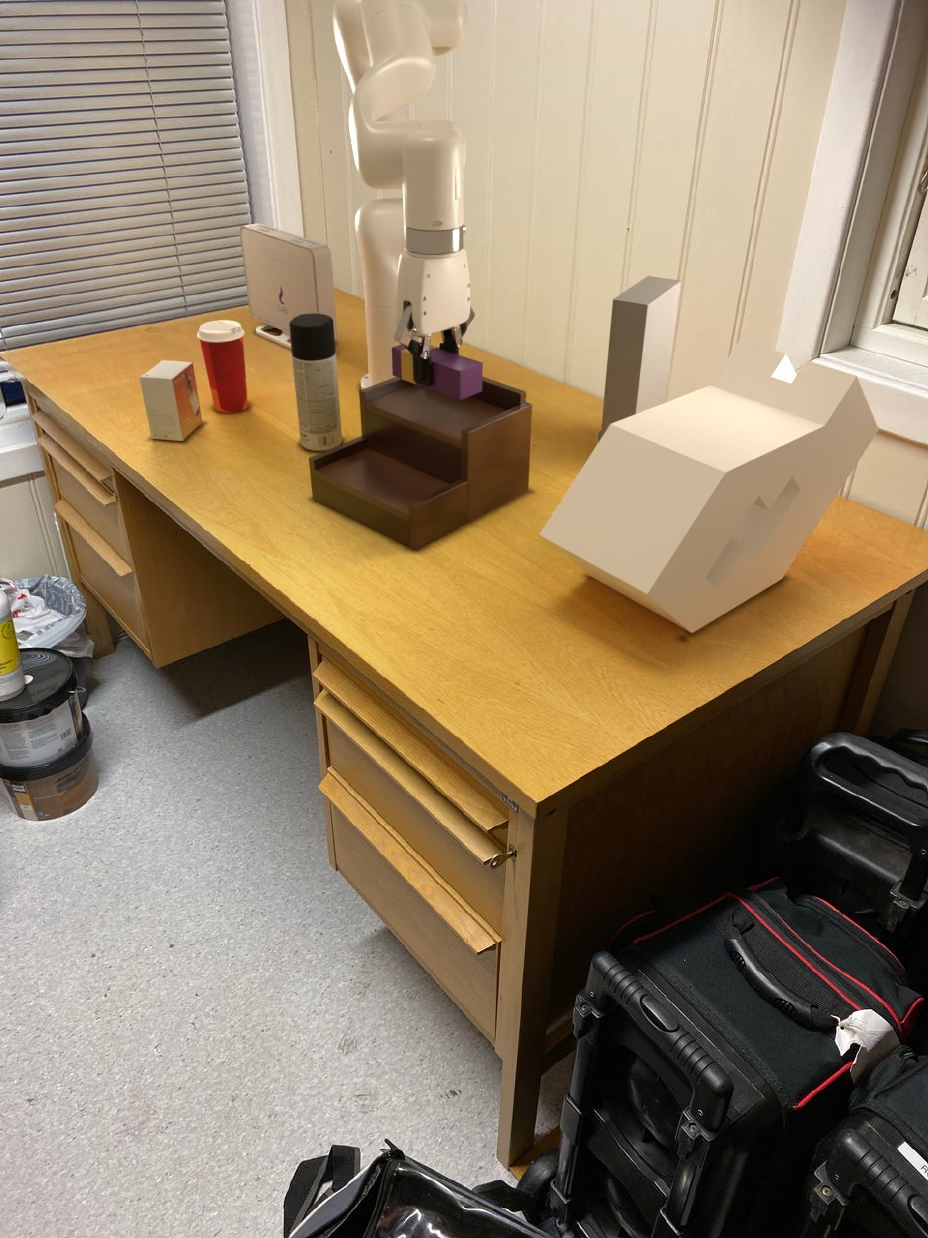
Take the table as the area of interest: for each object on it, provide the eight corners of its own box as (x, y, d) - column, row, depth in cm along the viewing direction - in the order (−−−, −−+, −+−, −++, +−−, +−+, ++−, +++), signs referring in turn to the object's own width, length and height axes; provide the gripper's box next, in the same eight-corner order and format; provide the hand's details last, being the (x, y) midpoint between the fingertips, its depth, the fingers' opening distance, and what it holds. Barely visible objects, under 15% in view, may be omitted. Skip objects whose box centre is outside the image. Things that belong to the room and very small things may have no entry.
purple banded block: (415, 367, 137) (414, 339, 135) (482, 391, 130) (483, 361, 127) (392, 375, 134) (391, 347, 132) (459, 400, 127) (460, 370, 125)
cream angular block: (647, 594, 101) (830, 311, 100) (539, 534, 111) (704, 277, 110) (726, 663, 121) (879, 429, 120) (629, 608, 131) (769, 392, 130)
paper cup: (262, 402, 167) (252, 322, 159) (236, 418, 161) (224, 336, 153) (225, 395, 170) (214, 316, 162) (198, 410, 164) (185, 329, 156)
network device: (241, 327, 200) (228, 226, 188) (277, 318, 205) (266, 219, 193) (313, 359, 185) (303, 251, 173) (349, 348, 189) (342, 243, 178)
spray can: (349, 438, 155) (340, 314, 144) (331, 455, 150) (321, 328, 138) (312, 432, 157) (300, 310, 145) (293, 449, 152) (279, 323, 140)
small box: (183, 442, 154) (171, 379, 148) (150, 439, 154) (138, 376, 148) (203, 422, 160) (193, 361, 154) (172, 419, 161) (161, 358, 155)
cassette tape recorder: (626, 429, 158) (643, 274, 144) (661, 437, 156) (682, 280, 141) (592, 461, 148) (606, 298, 134) (629, 470, 146) (648, 305, 131)
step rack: (425, 448, 152) (423, 356, 143) (528, 491, 140) (533, 393, 132) (312, 498, 138) (302, 400, 130) (415, 550, 126) (412, 446, 118)
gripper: (458, 223, 128) (458, 356, 139) (364, 246, 118) (372, 388, 129) (500, 232, 124) (497, 369, 135) (407, 257, 114) (411, 403, 124)
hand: (436, 377), depth 131 cm, fingers closed on purple banded block, 4 cm apart
